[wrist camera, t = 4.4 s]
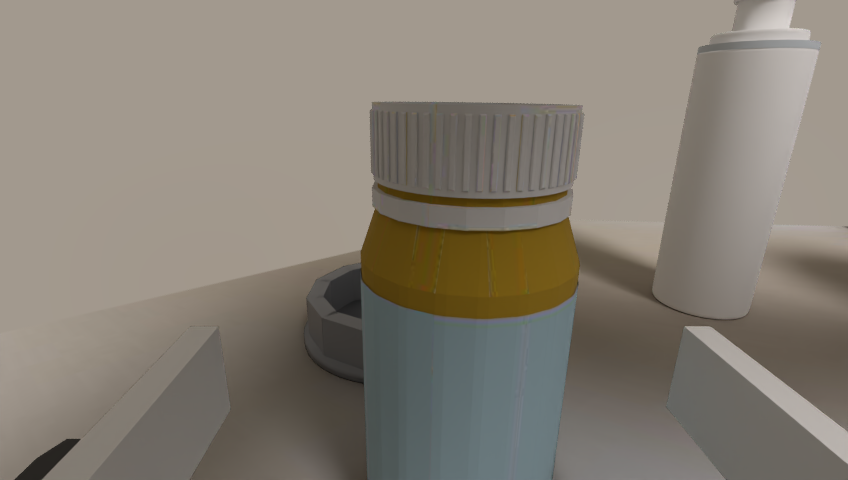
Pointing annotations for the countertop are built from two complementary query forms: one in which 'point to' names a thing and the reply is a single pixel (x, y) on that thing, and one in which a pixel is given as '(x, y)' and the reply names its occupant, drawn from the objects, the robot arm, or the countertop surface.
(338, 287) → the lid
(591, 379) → the countertop surface
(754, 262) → the spray bottle
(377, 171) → the bottle
